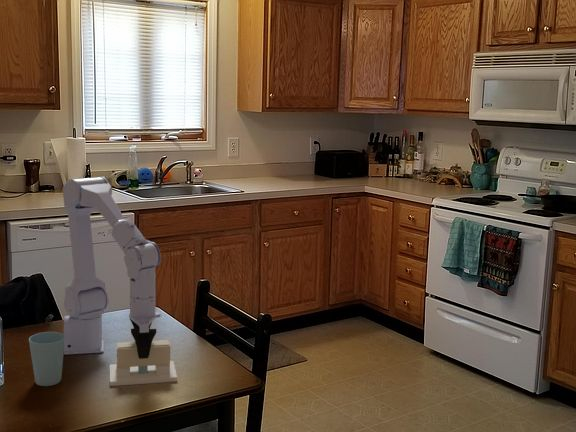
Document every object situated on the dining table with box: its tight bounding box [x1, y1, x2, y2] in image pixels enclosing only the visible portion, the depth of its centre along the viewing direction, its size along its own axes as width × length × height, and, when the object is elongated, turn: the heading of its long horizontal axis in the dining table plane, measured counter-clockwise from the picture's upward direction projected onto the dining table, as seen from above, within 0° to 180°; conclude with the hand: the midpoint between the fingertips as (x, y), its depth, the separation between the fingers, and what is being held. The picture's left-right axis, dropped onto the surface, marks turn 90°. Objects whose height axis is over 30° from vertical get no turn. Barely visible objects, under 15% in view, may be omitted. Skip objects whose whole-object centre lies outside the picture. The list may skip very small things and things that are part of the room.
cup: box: [28, 331, 65, 387], centre depth 155 cm, size 8×8×10 cm
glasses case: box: [116, 339, 171, 368], centre depth 160 cm, size 12×4×5 cm, turn 104°
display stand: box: [109, 358, 178, 387], centre depth 161 cm, size 15×10×3 cm, turn 104°
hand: (142, 351), depth 160 cm, fingers open, 7 cm apart
